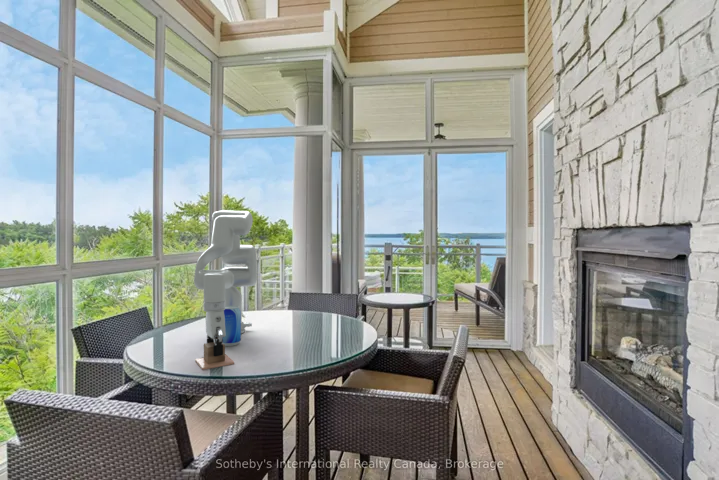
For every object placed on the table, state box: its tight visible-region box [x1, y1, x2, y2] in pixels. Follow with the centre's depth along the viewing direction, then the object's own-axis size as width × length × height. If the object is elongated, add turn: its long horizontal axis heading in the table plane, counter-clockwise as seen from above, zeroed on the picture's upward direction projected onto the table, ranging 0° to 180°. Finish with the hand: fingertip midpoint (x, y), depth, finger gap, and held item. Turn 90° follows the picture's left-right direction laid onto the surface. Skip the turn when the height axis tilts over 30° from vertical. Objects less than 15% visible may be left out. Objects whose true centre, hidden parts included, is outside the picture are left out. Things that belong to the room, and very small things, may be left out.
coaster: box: [195, 353, 235, 371], centre depth 141 cm, size 11×11×1 cm
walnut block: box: [203, 342, 226, 364], centre depth 141 cm, size 6×6×6 cm
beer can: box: [222, 306, 242, 347], centre depth 165 cm, size 8×8×16 cm
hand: (214, 351), depth 141 cm, fingers open, 9 cm apart
